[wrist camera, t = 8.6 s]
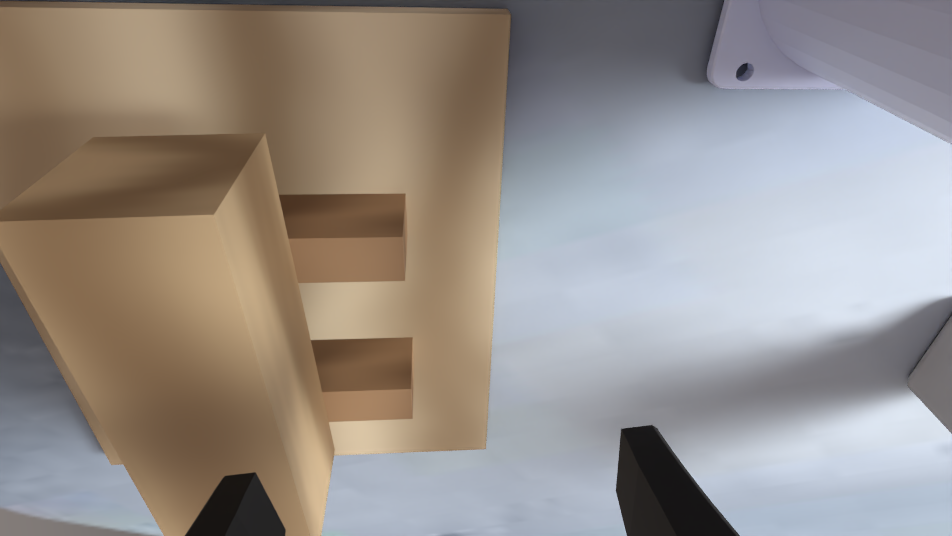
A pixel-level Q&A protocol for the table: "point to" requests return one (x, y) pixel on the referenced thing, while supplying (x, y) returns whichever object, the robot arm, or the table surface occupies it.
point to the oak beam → (180, 317)
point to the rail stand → (309, 174)
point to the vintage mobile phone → (936, 377)
